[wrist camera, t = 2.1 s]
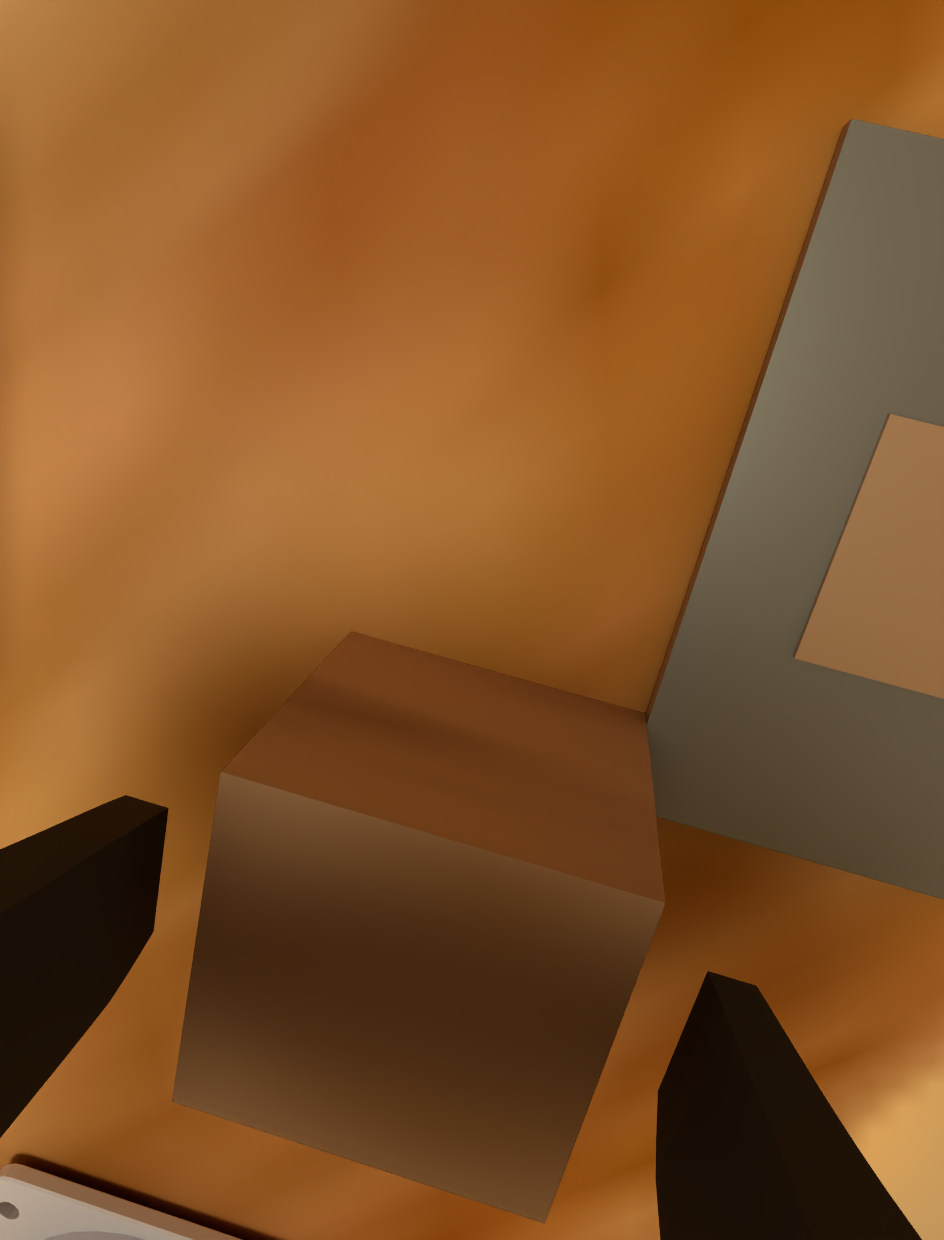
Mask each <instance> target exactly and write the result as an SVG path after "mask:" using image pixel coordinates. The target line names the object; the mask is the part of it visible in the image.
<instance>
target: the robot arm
mask: <svg viewBox="0 0 944 1240" xmlns="http://www.w3.org/2000/svg"><path fill="white" fill-rule="evenodd" d="M167 816H168V808H166V807H163V806H160V805H156V804H153V803H150V802H146V801H143V800H140V799H136V798H133V797H130V796H126V795H125V796H123V797H120V798H117V799H115V800H112V801H110V802H107V803H105V804H103V805H100V806H98V807H96V808H94V809H91V810H89V811H87V812H84V813H82V814H80V815H78V816H75V817H73V818H71V819H69V820H66V821H64V822H62V823H60V824H57V825H55V826H53V827H51V828H48V829H46V830H44V831H42V832H39V833H37V834H35V835H33V836H30V837H28V838H26V839H23V840H21V841H19V842H16V843H14V844H12V845H9V846H7V847H5V848H2V849H0V1138H1V1136H2V1135H3V1134H4V1133H5V1132H6V1130H7V1129H8V1128H9V1127H10V1125H11V1124H12V1123H13V1122H14V1120H15V1119H16V1118H17V1117H18V1115H19V1114H20V1113H21V1112H22V1111H23V1109H24V1108H25V1107H26V1106H27V1104H28V1103H29V1102H30V1101H31V1099H32V1098H33V1097H34V1096H35V1094H36V1093H37V1092H38V1091H39V1089H40V1088H41V1087H42V1086H43V1085H44V1083H45V1082H46V1081H47V1080H48V1078H49V1077H50V1076H51V1075H52V1073H53V1072H54V1071H55V1070H56V1068H57V1067H58V1066H59V1065H60V1064H61V1062H62V1061H63V1060H64V1059H65V1057H66V1056H67V1055H68V1054H69V1052H70V1051H71V1050H72V1049H73V1047H74V1046H75V1045H76V1044H77V1042H78V1041H79V1040H80V1039H81V1037H82V1036H83V1035H84V1034H85V1032H86V1031H87V1030H88V1029H89V1027H90V1026H91V1025H92V1023H93V1022H94V1021H95V1020H96V1018H97V1017H98V1016H99V1015H100V1013H101V1012H102V1011H103V1009H104V1008H105V1007H106V1006H107V1004H108V1003H109V1002H110V1000H111V999H112V997H113V996H114V994H115V993H116V991H117V989H118V988H119V986H120V985H121V983H122V982H123V980H124V979H125V977H126V976H127V974H128V972H129V971H130V969H131V968H132V966H133V964H134V963H135V961H136V959H137V958H138V956H139V955H140V953H141V951H142V950H143V948H144V946H145V945H146V943H147V941H148V940H149V938H150V937H151V935H152V933H153V931H154V922H155V914H156V906H157V898H158V890H159V882H160V873H161V865H162V857H163V849H164V841H165V833H166V824H167ZM656 1188H657V1202H658V1214H659V1226H660V1238H661V1240H922V1239H921V1238H920V1237H919V1235H918V1234H917V1232H916V1231H915V1229H914V1228H913V1227H912V1225H911V1224H910V1223H909V1221H908V1220H907V1218H906V1217H905V1215H904V1214H903V1213H902V1211H901V1210H900V1209H899V1207H898V1206H897V1204H896V1203H895V1201H894V1200H893V1199H892V1197H891V1196H890V1194H889V1193H888V1192H887V1190H886V1189H885V1187H884V1186H883V1184H882V1183H881V1182H880V1180H879V1178H878V1177H877V1176H876V1174H875V1173H874V1171H873V1170H872V1168H871V1167H870V1165H869V1164H868V1162H867V1161H866V1159H865V1158H864V1156H863V1155H862V1153H861V1152H860V1150H859V1149H858V1147H857V1146H856V1144H855V1143H854V1141H853V1140H852V1138H851V1137H850V1135H849V1134H848V1132H847V1131H846V1129H845V1127H844V1126H843V1124H842V1123H841V1121H840V1120H839V1118H838V1117H837V1115H836V1113H835V1112H834V1110H833V1109H832V1107H831V1106H830V1104H829V1102H828V1101H827V1099H826V1098H825V1096H824V1095H823V1093H822V1091H821V1090H820V1088H819V1087H818V1085H817V1083H816V1082H815V1080H814V1079H813V1077H812V1075H811V1074H810V1072H809V1070H808V1069H807V1067H806V1066H805V1064H804V1062H803V1061H802V1059H801V1057H800V1056H799V1054H798V1053H797V1051H796V1049H795V1048H794V1046H793V1044H792V1043H791V1041H790V1039H789V1038H788V1036H787V1035H786V1033H785V1031H784V1030H783V1028H782V1026H781V1025H780V1023H779V1021H778V1020H777V1018H776V1016H775V1015H774V1013H773V1012H772V1010H771V1008H770V1007H769V1005H768V1003H767V1002H766V1000H765V999H764V997H763V996H762V994H761V992H760V991H759V989H758V988H757V986H755V985H752V984H749V983H745V982H742V981H739V980H736V979H732V978H729V977H726V976H722V975H719V974H716V973H712V972H709V971H708V972H707V974H706V976H705V979H704V981H703V984H702V986H701V989H700V991H699V993H698V996H697V998H696V1001H695V1003H694V1005H693V1008H692V1010H691V1013H690V1015H689V1017H688V1020H687V1022H686V1025H685V1027H684V1030H683V1032H682V1034H681V1037H680V1039H679V1042H678V1044H677V1046H676V1049H675V1051H674V1054H673V1056H672V1058H671V1061H670V1063H669V1066H668V1068H667V1070H666V1073H665V1075H664V1078H663V1080H662V1083H661V1085H660V1087H659V1090H658V1107H657V1135H656ZM0 1240H242V1239H239V1238H236V1237H233V1236H231V1235H228V1234H225V1233H222V1232H219V1231H216V1230H213V1229H210V1228H207V1227H204V1226H201V1225H198V1224H195V1223H192V1222H189V1221H186V1220H184V1219H181V1218H178V1217H175V1216H172V1215H169V1214H166V1213H163V1212H160V1211H157V1210H154V1209H151V1208H148V1207H145V1206H142V1205H139V1204H137V1203H134V1202H131V1201H128V1200H125V1199H122V1198H119V1197H116V1196H113V1195H110V1194H107V1193H104V1192H101V1191H98V1190H95V1189H92V1188H89V1187H87V1186H84V1185H81V1184H78V1183H75V1182H72V1181H69V1180H66V1179H63V1178H60V1177H57V1176H54V1175H51V1174H48V1173H45V1172H42V1171H40V1170H37V1169H34V1168H31V1167H28V1166H25V1165H22V1164H16V1163H14V1164H8V1165H5V1166H4V1167H3V1168H1V1170H0Z"/></svg>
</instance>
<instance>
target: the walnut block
mask: <svg viewBox="0 0 944 1240" xmlns="http://www.w3.org/2000/svg"><path fill="white" fill-rule="evenodd" d="M665 904H666V901H665V892H664V883H663V874H662V864H661V855H660V846H659V837H658V827H657V818H656V809H655V800H654V790H653V781H652V772H651V763H650V753H649V744H648V735H647V726H646V717H645V713H641V712H638V711H634V710H630V709H627V708H623V707H620V706H616V705H612V704H609V703H605V702H602V701H598V700H595V699H591V698H587V697H584V696H580V695H577V694H573V693H569V692H566V691H562V690H559V689H555V688H552V687H548V686H544V685H541V684H537V683H534V682H530V681H527V680H523V679H519V678H516V677H512V676H509V675H505V674H501V673H498V672H494V671H491V670H487V669H484V668H480V667H476V666H473V665H469V664H466V663H462V662H458V661H455V660H451V659H448V658H444V657H441V656H437V655H433V654H430V653H426V652H423V651H419V650H415V649H412V648H408V647H405V646H401V645H398V644H394V643H390V642H387V641H383V640H380V639H376V638H373V637H369V636H365V635H362V634H358V633H355V632H350V633H349V634H348V635H347V637H346V638H345V639H344V640H343V641H342V642H341V643H340V644H339V645H338V646H337V647H336V648H335V649H334V650H333V652H332V653H331V654H330V655H329V656H328V657H327V658H326V659H325V660H324V661H323V662H322V663H321V664H320V666H319V667H318V668H317V669H316V670H315V671H314V672H313V673H312V674H311V675H310V676H309V677H308V678H307V680H306V681H305V682H304V683H303V684H302V685H301V686H300V687H299V688H298V689H297V690H296V691H295V692H294V693H293V695H292V696H291V697H290V698H289V699H288V700H287V701H286V702H285V703H284V704H283V705H282V706H281V707H280V709H279V710H278V711H277V712H276V713H275V714H274V715H273V716H272V717H271V718H270V719H269V720H268V721H267V722H266V724H265V725H264V726H263V727H262V728H261V729H260V730H259V731H258V732H257V733H256V734H255V735H254V736H253V738H252V739H251V740H250V741H249V742H248V743H247V744H246V745H245V746H244V747H243V748H242V749H241V750H240V752H239V753H238V754H237V755H236V756H235V757H234V758H233V759H232V760H231V761H230V762H229V763H228V764H227V765H226V767H225V768H224V769H223V770H222V771H221V772H220V779H219V786H218V793H217V799H216V806H215V813H214V820H213V826H212V833H211V840H210V847H209V854H208V860H207V867H206V874H205V881H204V887H203V894H202V901H201V908H200V915H199V921H198V928H197V935H196V942H195V948H194V955H193V962H192V969H191V975H190V982H189V989H188V996H187V1003H186V1009H185V1016H184V1023H183V1030H182V1036H181V1043H180V1050H179V1057H178V1063H177V1070H176V1077H175V1084H174V1091H173V1097H172V1102H175V1103H178V1104H181V1105H184V1106H187V1107H190V1108H193V1109H196V1110H199V1111H202V1112H205V1113H208V1114H211V1115H215V1116H218V1117H221V1118H224V1119H227V1120H230V1121H233V1122H236V1123H239V1124H242V1125H245V1126H248V1127H251V1128H254V1129H257V1130H260V1131H263V1132H266V1133H270V1134H273V1135H276V1136H279V1137H282V1138H285V1139H288V1140H291V1141H294V1142H297V1143H300V1144H303V1145H306V1146H309V1147H312V1148H315V1149H318V1150H321V1151H324V1152H328V1153H331V1154H334V1155H337V1156H340V1157H343V1158H346V1159H349V1160H352V1161H355V1162H358V1163H361V1164H364V1165H367V1166H370V1167H373V1168H376V1169H379V1170H383V1171H386V1172H389V1173H392V1174H395V1175H398V1176H401V1177H404V1178H407V1179H410V1180H413V1181H416V1182H419V1183H422V1184H425V1185H428V1186H431V1187H434V1188H438V1189H441V1190H444V1191H447V1192H450V1193H453V1194H456V1195H459V1196H462V1197H465V1198H468V1199H471V1200H474V1201H477V1202H480V1203H483V1204H486V1205H489V1206H492V1207H496V1208H499V1209H502V1210H505V1211H508V1212H511V1213H514V1214H517V1215H520V1216H523V1217H526V1218H529V1219H532V1220H535V1221H538V1222H541V1223H544V1224H545V1221H546V1219H547V1216H548V1213H549V1211H550V1208H551V1205H552V1203H553V1200H554V1198H555V1195H556V1192H557V1190H558V1187H559V1184H560V1182H561V1179H562V1176H563V1174H564V1171H565V1168H566V1166H567V1163H568V1160H569V1158H570V1155H571V1153H572V1150H573V1147H574V1145H575V1142H576V1139H577V1137H578V1134H579V1131H580V1129H581V1126H582V1123H583V1121H584V1118H585V1115H586V1113H587V1110H588V1108H589V1105H590V1102H591V1100H592V1097H593V1094H594V1092H595V1089H596V1086H597V1084H598V1081H599V1078H600V1076H601V1073H602V1070H603V1068H604V1065H605V1063H606V1060H607V1057H608V1055H609V1052H610V1049H611V1047H612V1044H613V1041H614V1039H615V1036H616V1033H617V1031H618V1028H619V1025H620V1023H621V1020H622V1018H623V1015H624V1012H625V1010H626V1007H627V1004H628V1002H629V999H630V996H631V994H632V991H633V988H634V986H635V983H636V980H637V978H638V975H639V973H640V970H641V967H642V965H643V962H644V959H645V957H646V954H647V951H648V949H649V946H650V943H651V941H652V938H653V935H654V933H655V930H656V928H657V925H658V922H659V920H660V917H661V914H662V912H663V909H664V906H665Z"/></svg>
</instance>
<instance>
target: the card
mask: <svg viewBox="0 0 944 1240" xmlns="http://www.w3.org/2000/svg"><path fill="white" fill-rule="evenodd" d="M645 717H646V726H647V735H648V744H649V753H650V763H651V772H652V781H653V790H654V800H655V809H656V817H660V818H663V819H666V820H670V821H673V822H677V823H680V824H684V825H687V826H691V827H694V828H698V829H701V830H705V831H708V832H712V833H715V834H719V835H722V836H725V837H729V838H732V839H736V840H739V841H743V842H746V843H750V844H753V845H757V846H760V847H764V848H767V849H771V850H774V851H778V852H781V853H784V854H788V855H791V856H795V857H798V858H802V859H805V860H809V861H812V862H816V863H819V864H823V865H826V866H830V867H833V868H837V869H840V870H843V871H847V872H850V873H854V874H857V875H861V876H864V877H868V878H871V879H875V880H878V881H882V882H885V883H889V884H892V885H895V886H899V887H902V888H906V889H909V890H913V891H916V892H920V893H923V894H927V895H930V896H934V897H937V898H941V899H944V139H941V138H937V137H932V136H928V135H923V134H918V133H914V132H909V131H905V130H900V129H896V128H891V127H887V126H882V125H877V124H873V123H868V122H864V121H859V120H855V119H851V120H850V121H849V122H848V123H847V124H846V125H845V126H844V127H843V129H842V132H841V135H840V138H839V141H838V144H837V147H836V150H835V153H834V156H833V159H832V162H831V165H830V168H829V171H828V174H827V177H826V180H825V183H824V185H823V188H822V191H821V194H820V197H819V200H818V203H817V206H816V209H815V212H814V215H813V218H812V221H811V224H810V227H809V230H808V233H807V236H806V239H805V242H804V245H803V248H802V251H801V254H800V257H799V260H798V263H797V266H796V269H795V272H794V275H793V278H792V281H791V284H790V287H789V290H788V293H787V296H786V299H785V302H784V305H783V308H782V311H781V313H780V316H779V319H778V322H777V325H776V328H775V331H774V334H773V337H772V340H771V343H770V346H769V349H768V352H767V355H766V358H765V361H764V364H763V367H762V370H761V373H760V376H759V379H758V382H757V385H756V388H755V391H754V394H753V397H752V400H751V403H750V406H749V409H748V412H747V415H746V418H745V421H744V424H743V427H742V430H741V433H740V436H739V439H738V441H737V444H736V447H735V450H734V453H733V456H732V459H731V462H730V465H729V468H728V471H727V474H726V477H725V480H724V483H723V486H722V489H721V492H720V495H719V498H718V501H717V504H716V507H715V510H714V513H713V516H712V519H711V522H710V525H709V528H708V531H707V534H706V537H705V540H704V543H703V546H702V549H701V552H700V555H699V558H698V561H697V564H696V567H695V569H694V572H693V575H692V578H691V581H690V584H689V587H688V590H687V593H686V596H685V599H684V602H683V605H682V608H681V611H680V614H679V617H678V620H677V623H676V626H675V629H674V632H673V635H672V638H671V641H670V644H669V647H668V650H667V653H666V656H665V659H664V662H663V665H662V668H661V671H660V674H659V677H658V680H657V683H656V686H655V689H654V692H653V695H652V697H651V700H650V703H649V706H648V709H647V712H646V715H645Z"/></svg>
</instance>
